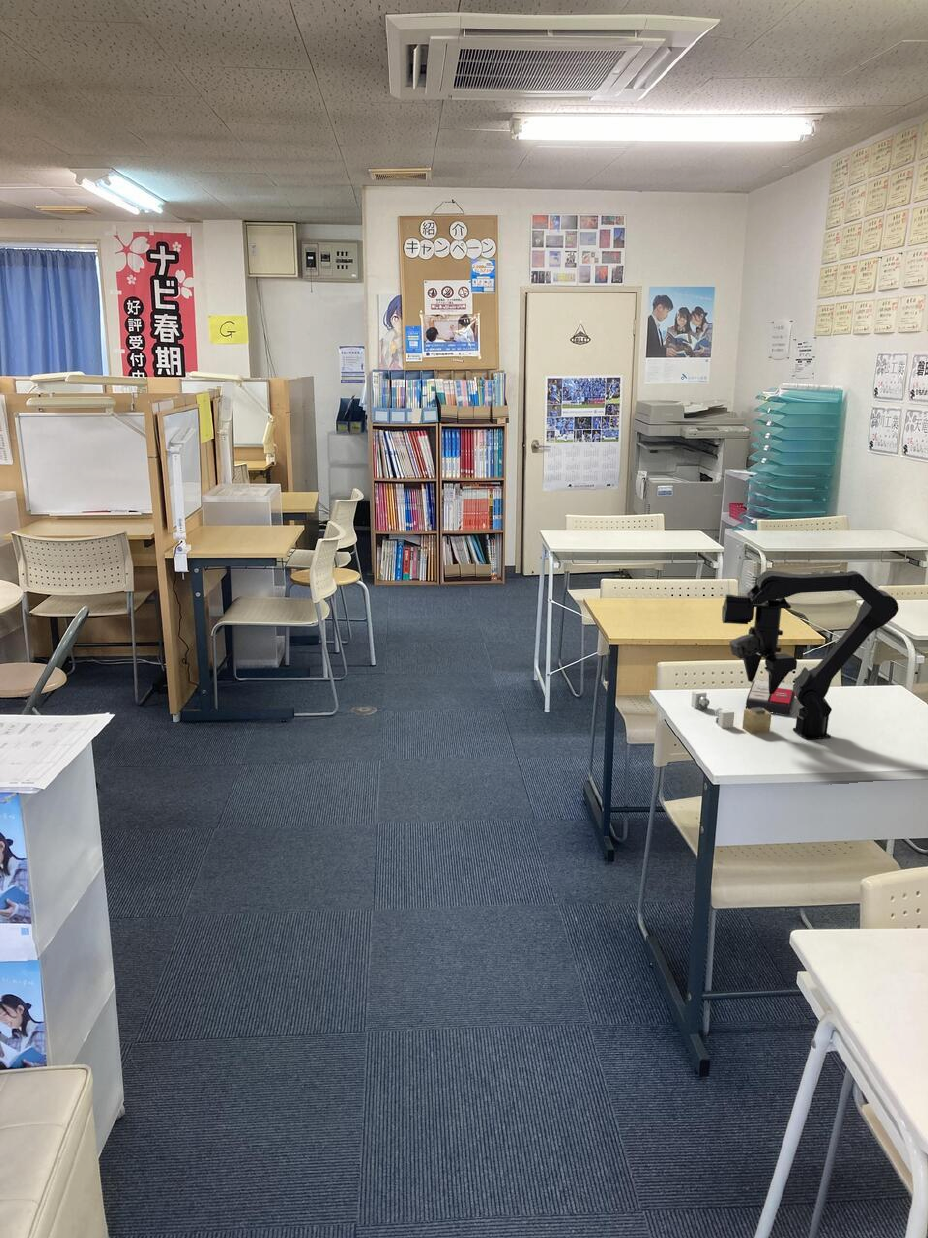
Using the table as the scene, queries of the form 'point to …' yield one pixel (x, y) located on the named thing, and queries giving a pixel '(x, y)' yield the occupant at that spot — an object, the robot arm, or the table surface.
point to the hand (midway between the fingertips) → (760, 687)
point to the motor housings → (724, 715)
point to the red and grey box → (771, 698)
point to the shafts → (704, 703)
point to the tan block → (756, 720)
